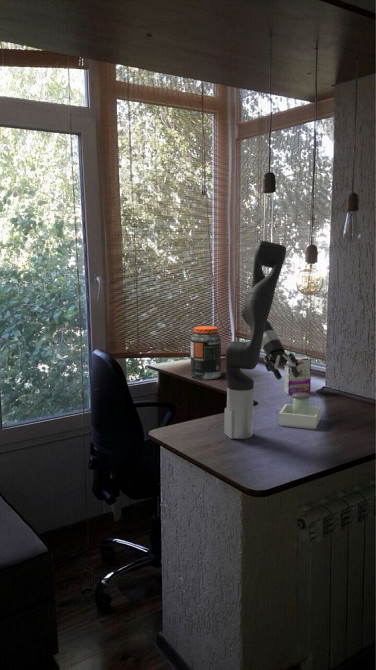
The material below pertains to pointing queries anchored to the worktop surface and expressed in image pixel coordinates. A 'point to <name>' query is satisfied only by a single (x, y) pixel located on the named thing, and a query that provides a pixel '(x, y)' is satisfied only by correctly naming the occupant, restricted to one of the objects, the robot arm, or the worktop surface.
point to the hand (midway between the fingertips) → (288, 377)
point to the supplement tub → (205, 353)
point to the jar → (300, 403)
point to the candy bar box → (302, 380)
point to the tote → (299, 417)
